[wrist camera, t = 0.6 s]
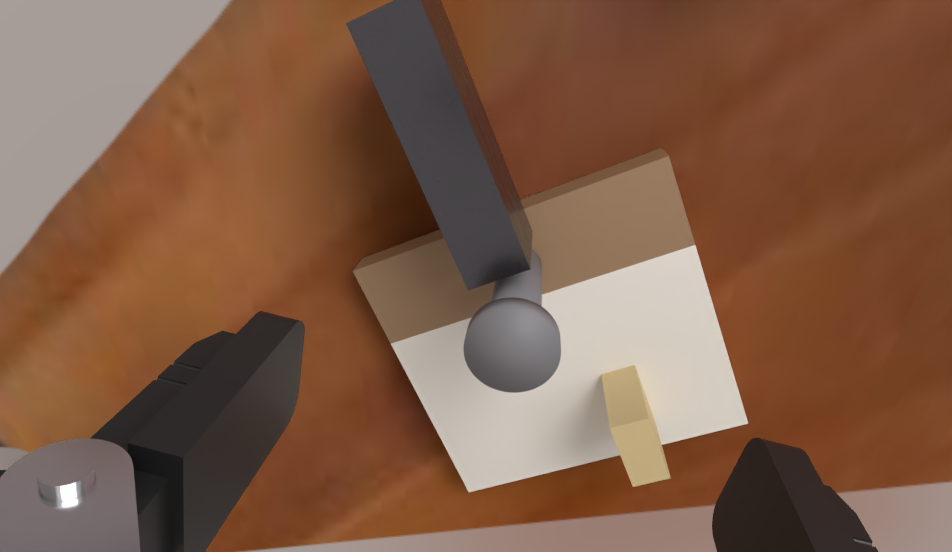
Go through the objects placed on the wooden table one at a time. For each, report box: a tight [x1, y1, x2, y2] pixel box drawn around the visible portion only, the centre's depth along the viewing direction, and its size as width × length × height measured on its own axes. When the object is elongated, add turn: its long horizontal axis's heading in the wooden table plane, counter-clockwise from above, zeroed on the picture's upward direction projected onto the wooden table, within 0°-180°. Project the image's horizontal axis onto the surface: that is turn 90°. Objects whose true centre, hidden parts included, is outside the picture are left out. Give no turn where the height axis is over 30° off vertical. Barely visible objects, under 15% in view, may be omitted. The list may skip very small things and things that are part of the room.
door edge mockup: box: [353, 148, 748, 492], centre depth 31 cm, size 18×17×11 cm
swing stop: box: [346, 0, 533, 290], centre depth 27 cm, size 12×3×5 cm, turn 23°
